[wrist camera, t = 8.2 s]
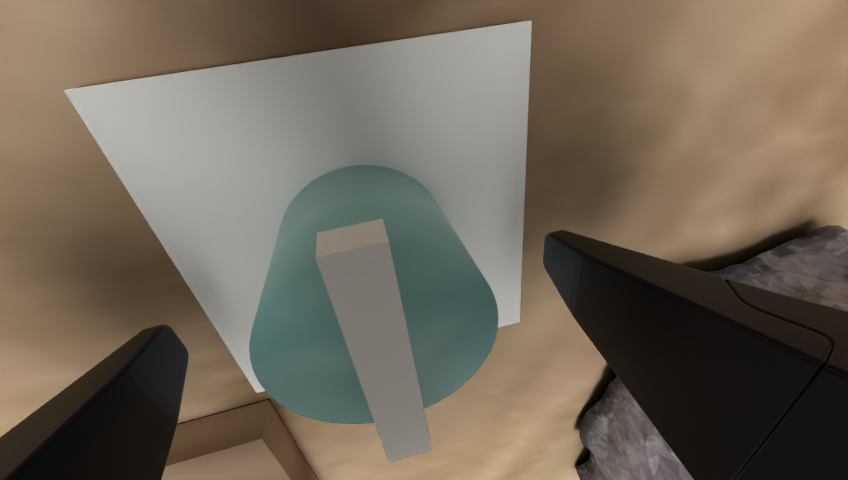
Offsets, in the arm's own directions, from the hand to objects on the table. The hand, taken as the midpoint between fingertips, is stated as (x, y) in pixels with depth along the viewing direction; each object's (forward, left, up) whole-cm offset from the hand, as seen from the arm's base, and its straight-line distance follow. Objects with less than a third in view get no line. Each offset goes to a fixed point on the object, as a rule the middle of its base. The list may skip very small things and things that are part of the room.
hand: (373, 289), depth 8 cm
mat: (0, 0, -3) cm, 3 cm away
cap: (0, 0, -2) cm, 2 cm away
